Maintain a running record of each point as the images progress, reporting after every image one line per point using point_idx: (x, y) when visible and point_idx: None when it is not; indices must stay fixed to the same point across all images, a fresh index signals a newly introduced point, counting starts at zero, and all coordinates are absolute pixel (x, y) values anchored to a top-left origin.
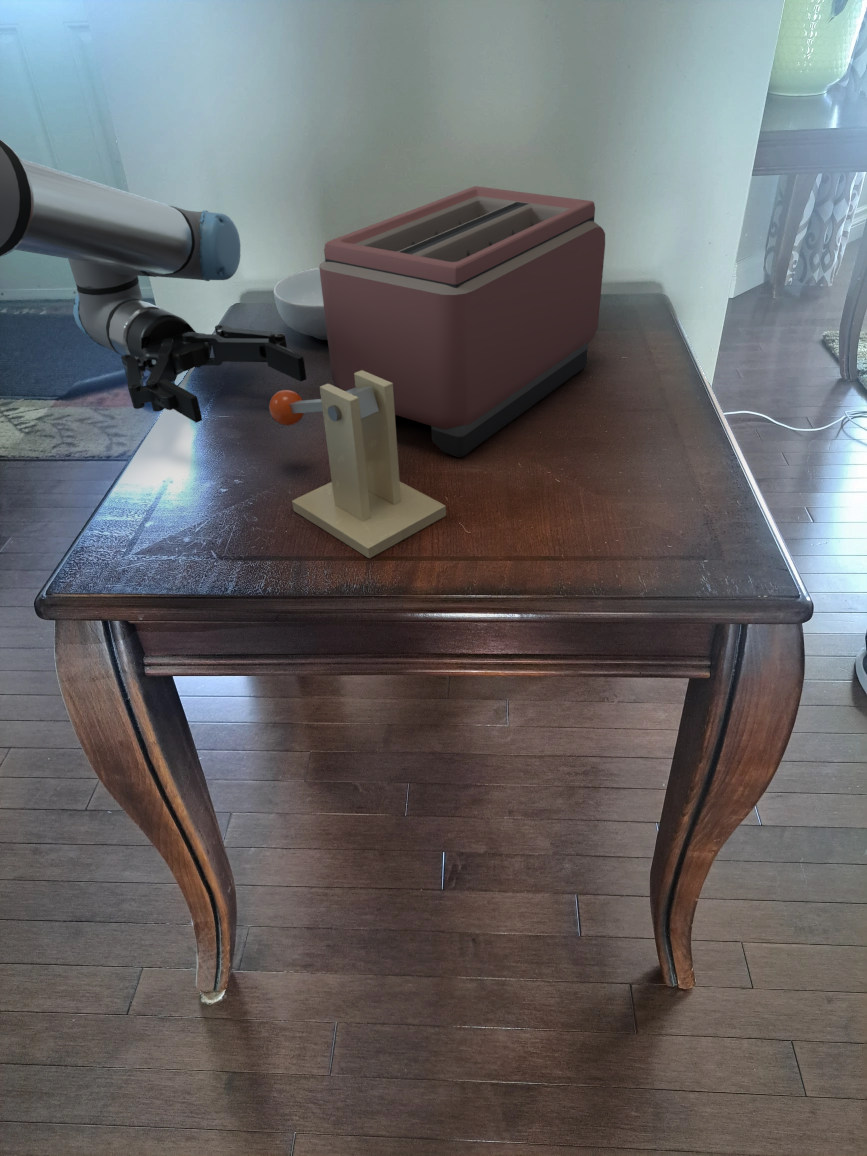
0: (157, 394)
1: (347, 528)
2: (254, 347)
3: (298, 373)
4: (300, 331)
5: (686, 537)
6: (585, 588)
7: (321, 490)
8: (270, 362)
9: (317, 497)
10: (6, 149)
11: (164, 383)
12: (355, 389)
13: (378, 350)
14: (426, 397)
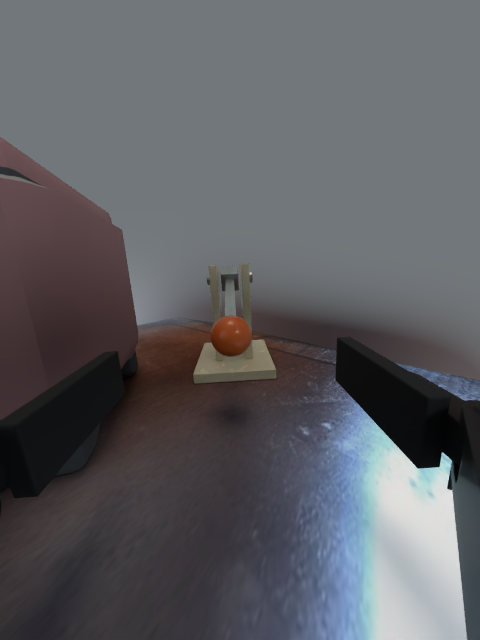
0: (444, 391)
1: (261, 347)
2: None
3: (120, 382)
4: None
5: (162, 326)
6: (212, 325)
7: (248, 368)
8: (48, 463)
9: (257, 365)
10: None
11: (422, 380)
12: (227, 270)
13: (112, 300)
14: (133, 325)
